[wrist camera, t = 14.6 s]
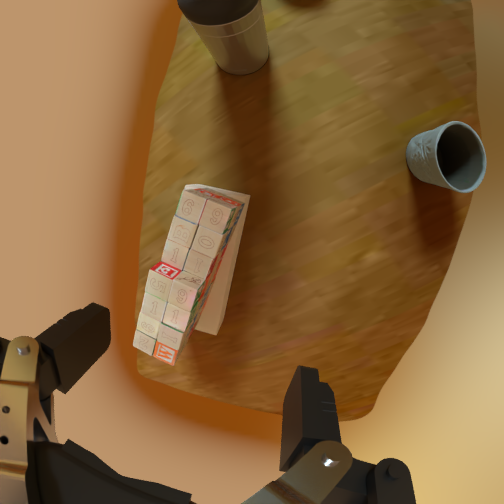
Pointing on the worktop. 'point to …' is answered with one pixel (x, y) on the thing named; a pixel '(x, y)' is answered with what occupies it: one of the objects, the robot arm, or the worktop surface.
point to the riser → (222, 270)
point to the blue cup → (448, 157)
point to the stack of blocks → (185, 272)
